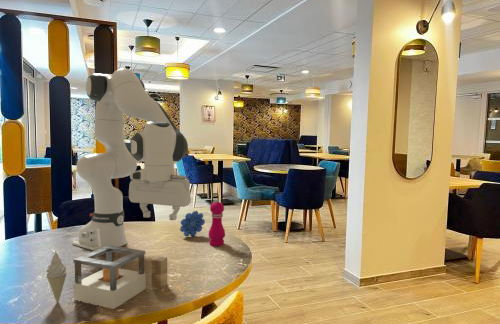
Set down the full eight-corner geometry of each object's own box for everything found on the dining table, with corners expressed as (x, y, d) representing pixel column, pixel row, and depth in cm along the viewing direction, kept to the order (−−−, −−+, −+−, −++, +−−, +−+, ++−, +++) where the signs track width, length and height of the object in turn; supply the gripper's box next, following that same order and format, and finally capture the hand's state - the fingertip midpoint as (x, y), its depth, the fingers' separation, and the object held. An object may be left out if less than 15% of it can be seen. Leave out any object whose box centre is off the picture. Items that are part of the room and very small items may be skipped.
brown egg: (99, 284, 107) (99, 267, 106) (110, 278, 111) (110, 262, 110) (111, 286, 105) (111, 270, 105) (122, 281, 109) (121, 264, 109)
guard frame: (73, 283, 104) (73, 259, 103) (108, 266, 117) (108, 245, 116) (113, 291, 99) (113, 266, 98) (145, 273, 112) (145, 250, 111)
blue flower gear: (202, 232, 175) (202, 208, 174) (206, 236, 169) (206, 211, 168) (178, 234, 171) (178, 209, 170) (181, 238, 165) (181, 212, 164)
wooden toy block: (151, 287, 113) (151, 259, 112) (157, 283, 116) (157, 256, 116) (160, 289, 112) (160, 261, 111) (167, 285, 115) (167, 257, 114)
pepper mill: (222, 247, 154) (223, 200, 152) (206, 246, 155) (206, 199, 153) (226, 242, 161) (227, 197, 159) (211, 241, 162) (211, 196, 160)
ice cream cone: (52, 298, 105) (50, 248, 103) (70, 298, 105) (69, 247, 104) (43, 307, 100) (42, 253, 98) (63, 306, 100) (61, 253, 99)
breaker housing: (74, 300, 104) (73, 283, 104) (109, 281, 117) (108, 266, 117) (113, 309, 99) (113, 291, 99) (145, 288, 112) (145, 273, 112)
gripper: (194, 174, 111) (194, 219, 112) (138, 171, 118) (138, 213, 119) (183, 176, 105) (184, 224, 106) (125, 173, 112) (126, 217, 113)
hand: (159, 218), depth 112 cm, fingers open, 8 cm apart
